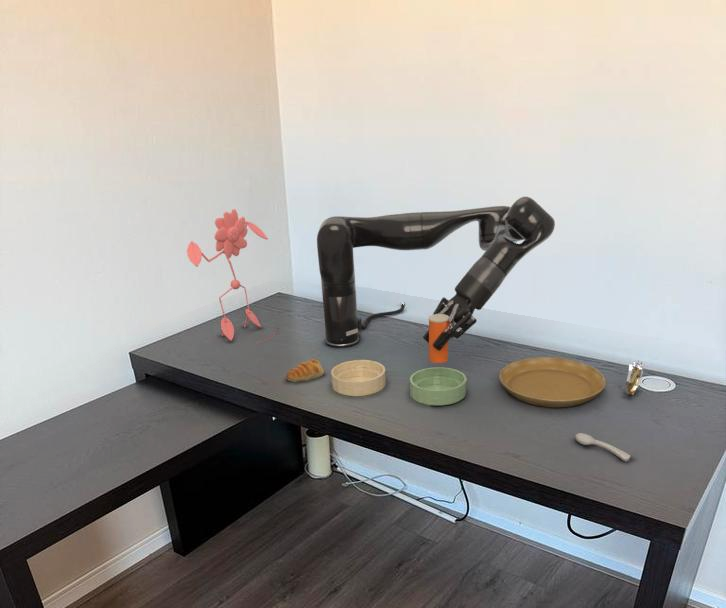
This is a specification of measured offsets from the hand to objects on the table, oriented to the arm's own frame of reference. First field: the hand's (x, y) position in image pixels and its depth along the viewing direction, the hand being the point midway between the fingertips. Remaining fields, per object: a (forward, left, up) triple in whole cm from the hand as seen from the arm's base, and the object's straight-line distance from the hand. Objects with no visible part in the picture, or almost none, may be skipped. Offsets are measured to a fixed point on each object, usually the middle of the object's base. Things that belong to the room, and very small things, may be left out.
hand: (430, 344), depth 155 cm
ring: (-12, +44, -13) cm, 48 cm away
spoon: (+16, +40, -13) cm, 45 cm away
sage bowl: (-1, +1, -13) cm, 13 cm away
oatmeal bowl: (-1, -19, -13) cm, 23 cm away
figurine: (-26, -63, -13) cm, 69 cm away
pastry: (-3, -34, -13) cm, 36 cm away
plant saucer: (-10, +26, -13) cm, 31 cm away
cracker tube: (-1, +1, -4) cm, 4 cm away
